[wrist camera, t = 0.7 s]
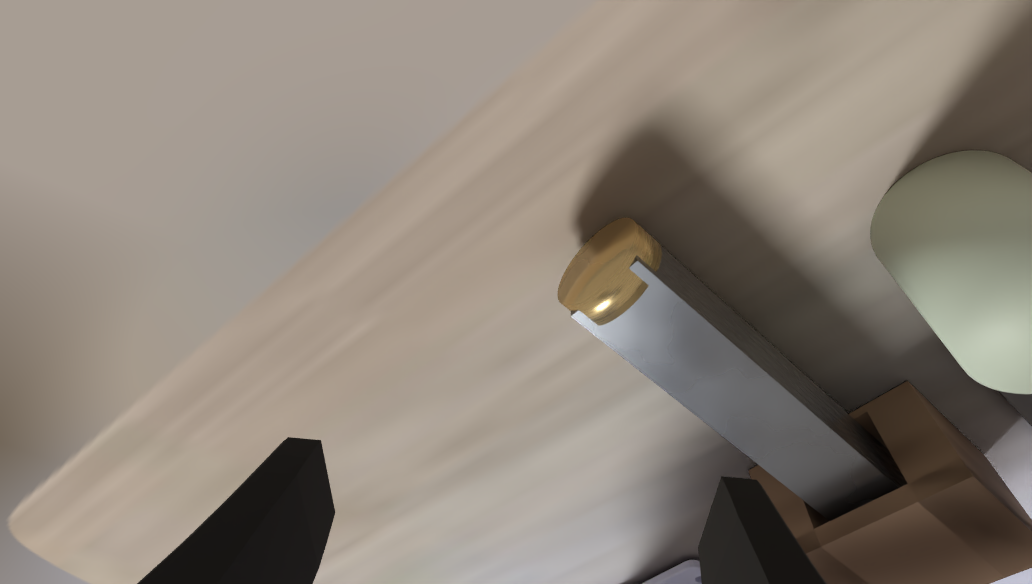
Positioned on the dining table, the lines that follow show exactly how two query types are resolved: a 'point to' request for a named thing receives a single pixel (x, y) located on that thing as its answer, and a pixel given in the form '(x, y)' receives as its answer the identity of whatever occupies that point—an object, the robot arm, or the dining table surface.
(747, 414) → the shaft
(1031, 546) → the brown wooden block
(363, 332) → the dining table surface
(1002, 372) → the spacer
